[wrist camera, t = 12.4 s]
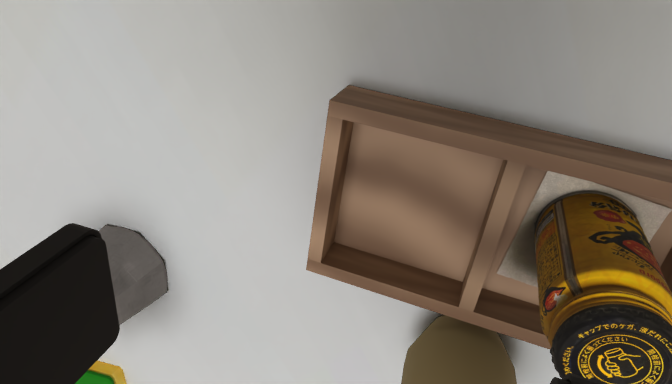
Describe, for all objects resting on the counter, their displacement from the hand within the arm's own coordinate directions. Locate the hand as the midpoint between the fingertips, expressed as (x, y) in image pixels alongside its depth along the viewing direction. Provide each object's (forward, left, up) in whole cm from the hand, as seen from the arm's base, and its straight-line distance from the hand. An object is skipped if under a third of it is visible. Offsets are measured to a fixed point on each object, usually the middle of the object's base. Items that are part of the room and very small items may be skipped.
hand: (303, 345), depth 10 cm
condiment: (+8, +11, -24) cm, 27 cm away
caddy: (+8, +5, -25) cm, 27 cm away
